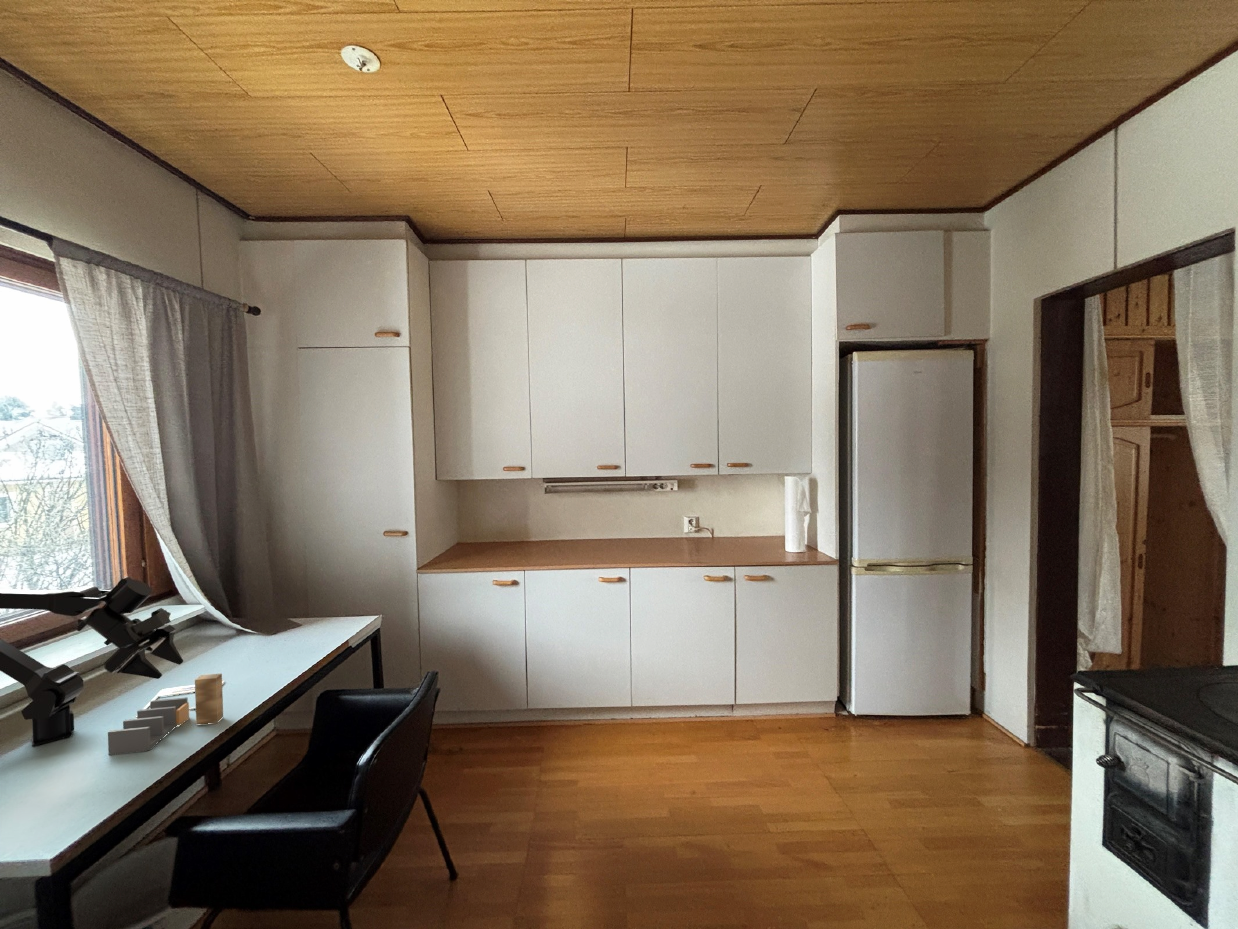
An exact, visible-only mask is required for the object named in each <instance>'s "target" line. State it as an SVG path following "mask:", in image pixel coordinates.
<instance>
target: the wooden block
mask: <svg viewBox="0 0 1238 929" xmlns="http://www.w3.org/2000/svg"><path fill="white" fill-rule="evenodd" d="M222 681H223V674H222V673H213V674H212V673H211V674H202V675H201V674H200V675H199V676H198V677H197V678H195V679H194V685H195V693H194V695H195V697H194V698H195V707H196V710H195V721H196V724H208V723H218V721H219V720H220V719H221V718H222V717H223V718H224V702H223V701H224V700H223V686H222ZM196 724H195V725H196ZM218 724H219V723H218ZM208 725H209V724H208Z"/></svg>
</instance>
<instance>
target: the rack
mask: <svg viewBox="0 0 1238 929" xmlns="http://www.w3.org/2000/svg"><path fill="white" fill-rule="evenodd" d="M151 700H152V699H151ZM151 700H150V701H151ZM150 701H149V702H150ZM189 708H190V703H189V700H188V697H177V698H165V699H164V698H163V699H157V700H152V701H151V702H150V707H149V708H148V709H143V708H141V709H138V710H137V711H136V712H137V715H136V716H137V719H135V718H130V719H129V718H128V719H124V720H122V724H123V726H122V729H113V730H109V731H107V747H108V756H113V755H124V754H133V753H141V752H143V753H144V752H148V751H147V750H149V751H151V750H152V749H153V748H154V747H155V746H157V744H156V743H157V742H159V741H160V739H162V738H163V737H164V736H165V735H166V734H168V732H170V731H171V730H172V729H173V728H174V727H176V726H177V725H180V724H182V723H183V722H184V721H186V720H187V719H188V718H189V719H190V711H189ZM189 719H188V720H189ZM188 720H187V721H188ZM187 721H186V722H187ZM182 725H183V724H182ZM176 728H177V727H176ZM170 733H171V732H170ZM168 735H169V734H168ZM163 739H164V738H163ZM163 739H162V740H163ZM160 742H161V741H160ZM160 742H159V743H160ZM154 745H155V746H154ZM153 746H154V747H153ZM152 747H153V748H152ZM151 748H152V749H151ZM150 749H151V750H150Z"/></svg>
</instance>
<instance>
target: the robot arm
mask: <svg viewBox="0 0 1238 929" xmlns="http://www.w3.org/2000/svg"><path fill="white" fill-rule="evenodd" d="M152 594H153V590H152V587H150V585H149V584H148V583H146V582H143V581H141V580H137V579H133V578H131V577H130V576H125V577H123V578H121V579H120V580H119V581H118V582H117V584H116V585H115V586H114V587H113V588H112V589H111V590H110V589H109V590H107V589H99V587H97V586H96V585H83V586H75V587H74V586H73V587H70V588H63V589H58V590H57V589H56V590H49V589H48V590H46V589H45V590H44V589H43V590H42V589H40V590H39V589H11V588H9V589H7V588H5V589H3V588H2V589H1V588H0V609H2V610H4V609H5V610H8V609H9V610H42V611H48V612H51V613H53V614H54V615H58V616H59V615H60V616H67V617H76V616H79V615H83V614H85V613H87V612H89V611H90V613H89V614H88V615H87V616H83V617H80V618H77V628H76V632H81V631H83V630H86V629H88V628H91V629H92V630H94V631H95V632H96V633H97V634H98V635H100V636H101V637H103V638H104V639H105V641H104V642H103V644H105V645H106V646H110V645H113V646H115V647H116V648H117V650H116V651H115V652H114V653H113V654H111V656H110V657H108V658H107V659H106V661H105V662H104V664H103V666H104V667H103V668H104V670H105V671H107V672H108V673H110V674H111V675H112V674H115V673H117V674H119V675H120V674H126V675H134V676H140V677H146V678H152V679H154V680H155V679H156V680H159V679H161V678H162V676H163V674H162V672H160V670H159V669H158V668H157V667H156V666H155V665H153V663H151V661H150V660H148V659H147V657H146V651H148V652H150V655H153V656H155V657H158V658H160V659H163V660H166V661H167V662H170V663H173V664H176V665H179V666H180V665H182V664H183V663H184V659H183V657H182V656H181V654H180V653H179V651H178V649H177V648H176V646H175V643H174V638H175V635H176V630H177V629H176V627H174V626H173V625H171V624H170V623H171V622H172V620H171V619H170V616H171V612H170V611H167V609H164V608H162V607H161V608H158V609H156V610H154V611H152V612H151V613H150V617H148V618H146V619H144V620H141V619H139V618H134V619H131V618H129V617H128V616H126V615H125V614H131V613H133V612H135V611H136V610H137V608H139V607H140V606H141V605H142V604H143V603H144V602H145V601H146V600H147V599H148V598H149V597H151V595H152ZM103 604H104V605H103ZM100 605H102V606H101V607H100ZM145 650H146V651H145ZM0 672H1V673H3V674H5V675H6V676H8V677H10V678H11V679H13V680H14V681H16V682H18V683H19V684H21V685H22V686H24V688H25V691H26V694H27V696H28V698H29V699H30V700H31V701H30V702H29V703H28V704H27V705H26V706H25V707H24V708H23V709H22V710H20V711H21V712H20V713H21V715H22V717H23V718H24V720H25V721H26V720H31V732H32V735H31V746H32V747H36V746H40V745H43V744H47V743H51V742H55V741H58V740H59V741H60V740H61V739H62V740H63V739H66V738H70V737H72V736H73V731H74V732H75V714H74V710H72V709H71V706H70V705H72V704H74V703H76V702H77V698H78V696H79V695H80V694H81V693H82V691H83V690H84V687H85V686H84V679H83V678H82V677H81V676H80V673H81V672H79V671H75V670H73V669H71V667H69V666H68V665H67V664H64V663H63V664H60V665H58V666H57V667H49V666H46V665H45V664H43V663H42V662H39V661H38V660H36V659H35V658H34V657H31V656H30V655H29V654H27V653H25V652H24V651H22V650H20V649H19V648H17V647H16V646H13V645H12V644H10V643H9V642H7V641H6V640H4V639H3V638H1V637H0Z"/></svg>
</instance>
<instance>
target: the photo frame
mask: <svg viewBox="0 0 1238 929" xmlns="http://www.w3.org/2000/svg"><path fill="white" fill-rule="evenodd" d="M224 682H226V680H222V685H224V684H225V683H224ZM191 692H195V684H191V685H182V686H176V687H170V688H163V689H161V690H160V691H159V692H158V693H156V694H155V696H154V697H153V698H152V699H151V700H150V701H149V702H148V703H147V704H146V705H145V706H144V707H143V708H142V709H147V708H148V707H149V706H150V702H151V701H152V700H155V699H156V698H157V697H161V696H168V695H177V696H179V695H178V694H185V695H188V694H187V693H191ZM149 708H150V707H149ZM149 708H148V709H149ZM193 709H196V706H192V707H189V710H191V711H194V710H193ZM135 718H137V715H136V716H135ZM135 718H134V719H135Z"/></svg>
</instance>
